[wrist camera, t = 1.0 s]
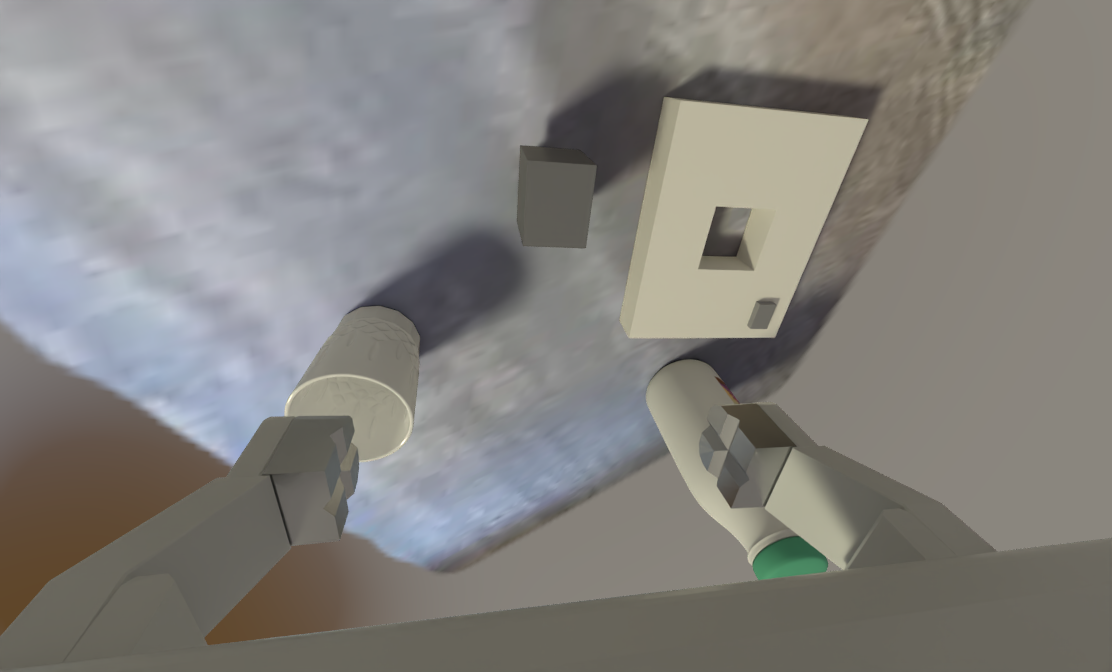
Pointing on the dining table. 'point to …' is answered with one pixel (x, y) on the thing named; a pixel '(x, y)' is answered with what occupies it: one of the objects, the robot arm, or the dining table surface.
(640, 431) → the dining table surface
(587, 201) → the plug
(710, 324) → the socket
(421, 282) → the dining table surface
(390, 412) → the white cup
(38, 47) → the dining table surface
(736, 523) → the milk bottle
